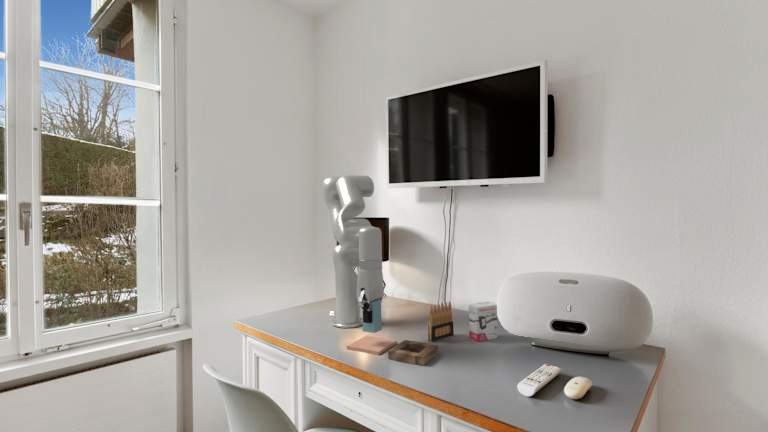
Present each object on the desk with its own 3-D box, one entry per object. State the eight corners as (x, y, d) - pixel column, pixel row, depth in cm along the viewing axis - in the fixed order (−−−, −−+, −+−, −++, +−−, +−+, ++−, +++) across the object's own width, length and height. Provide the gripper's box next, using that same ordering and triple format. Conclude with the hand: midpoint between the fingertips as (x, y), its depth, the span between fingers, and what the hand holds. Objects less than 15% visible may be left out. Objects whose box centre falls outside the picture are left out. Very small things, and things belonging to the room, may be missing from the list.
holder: (387, 359, 119) (387, 350, 119) (405, 347, 129) (405, 339, 129) (423, 366, 113) (423, 357, 113) (438, 353, 123) (438, 345, 123)
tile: (346, 348, 129) (346, 345, 129) (366, 338, 139) (366, 335, 139) (378, 355, 123) (378, 351, 123) (396, 343, 133) (396, 340, 133)
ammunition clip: (431, 341, 134) (431, 306, 134) (428, 340, 136) (427, 305, 135) (453, 335, 141) (453, 301, 140) (450, 334, 142) (449, 300, 142)
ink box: (477, 342, 133) (477, 307, 133) (468, 338, 137) (468, 303, 137) (498, 338, 136) (497, 304, 136) (488, 334, 141) (488, 301, 141)
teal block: (362, 331, 130) (362, 300, 130) (370, 327, 134) (369, 297, 134) (374, 333, 128) (373, 301, 127) (381, 329, 131) (380, 299, 131)
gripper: (374, 261, 140) (375, 313, 140) (346, 267, 125) (347, 325, 125) (393, 262, 136) (394, 316, 136) (366, 268, 121) (368, 328, 121)
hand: (372, 320), depth 131 cm, fingers closed on teal block, 4 cm apart
